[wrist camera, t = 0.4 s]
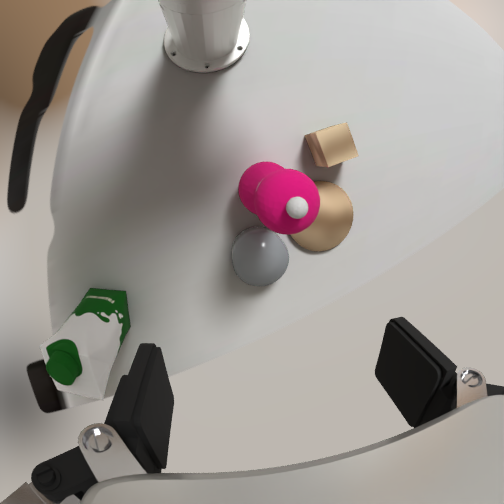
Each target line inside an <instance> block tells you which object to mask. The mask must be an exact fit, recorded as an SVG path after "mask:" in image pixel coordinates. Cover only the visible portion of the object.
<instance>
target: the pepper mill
mask: <svg viewBox="0 0 504 504" xmlns="http://www.w3.org/2000/svg"><path fill="white" fill-rule="evenodd" d="M239 196H240V199H241V201H242V203H243V205H244V206H245V207H246V208H247V209H248V210H249V211H251V212H252V213H254V214H256V215H258V217H259V219H260V221H261V222H262V223H263V224H264V225H265V226H266V227H267V228H269V229H270V230H272V231H274V232H276V233H280V234H289V235H290V234H296V233H299V232H301V231H303V230H305V229H307V228H308V227H309V226H310V225H311V224H312V223H313V222H314V220H315V219H316V217H317V215H318V212H319V209H320V196H319V192H318V189H317V187H316V185H315V184H314V182H313V181H312V180H311V179H310V178H309V177H308V176H307V175H305V174H304V173H302V172H299V171H297V170H293V169H284V168H283V167H281V166H280V165H278V164H276V163H272V162H260V163H256V164H254V165H252V166H251V167H249V168H248V169H247V170H246V171H245V172H244V174H243V175H242V177H241V179H240V182H239Z"/></svg>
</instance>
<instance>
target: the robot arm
mask: <svg viewBox="0 0 504 504" xmlns="http://www.w3.org/2000/svg"><path fill="white" fill-rule="evenodd" d="M158 1H159V4H160V6H161V9H162V12H163V14H164V17H165V20H166V22H167V25H168V27H167V30H166V32H165V35H164V47H165V50H166V53H167V55H168V56H169V58H170V59H171V60H172V61H173V62H174V63H175V64H176V65H178V66H179V67H181V68H183V69H185V70H188V71H192V72H200V73H204V72H213V71H218V70H221V69H224V68H226V67H228V66H230V65H232V64H233V63H235V62H236V61H237V60H238V59H239V58H240V57H241V56H242V55H243V54H244V52H245V50H246V49H247V46H248V43H249V38H250V35H249V28H248V25H247V23H246V22H245V20H244V19H243V15H244V10H245V5H246V1H247V0H158ZM239 49H240V50H241V51H238V50H239ZM174 54H176V55H175V56H173V55H174ZM207 66H208V67H209V68H205V67H207ZM456 368H457V366H456V365H455V364H454V363H453V362H452V361H451V360H450V359H449V358H448V357H447V356H446V355H444V354H443V353H442V352H441V351H440V350H439V349H438V348H437V347H436V346H435V345H434V344H433V343H431V342H430V341H429V340H428V339H427V338H426V337H425V336H424V335H423V334H421V332H420V331H418V330H417V329H416V328H415V327H414V326H413V325H412V324H411V323H409V322H408V321H407V320H406V319H405V318H403V317H399V318H394V319H391V320H390V321H389V323H387V325H386V328H385V333H384V337H383V342H382V345H381V349H380V354H379V357H378V361H377V365H376V369H375V375H376V378H377V379H378V381H379V382H380V383H381V385H382V386H383V388H384V389H385V391H386V392H387V393H388V395H389V396H390V398H391V399H392V400H393V402H394V403H395V405H396V406H397V408H398V409H399V411H400V412H401V414H402V415H403V417H404V418H405V419H406V421H407V422H408V424H409V425H410V426H411V427H414V429H411V430H409V431H407V432H404V433H402V434H399V435H397V436H394V437H392V438H389V439H386V440H383V441H381V442H378V443H375V444H372V445H369V446H366V447H362V448H359V449H356V450H353V451H349V452H346V453H342V454H338V455H334V456H331V457H326V458H323V459H318V460H313V461H309V462H304V463H298V464H293V465H287V466H281V467H274V468H267V469H258V470H248V471H237V472H221V473H161V469H165V468H166V465H167V455H168V445H169V437H170V429H171V421H172V413H173V406H174V396H173V392H172V389H171V386H170V382H169V378H168V374H167V371H166V367H165V363H164V359H163V355H162V351H161V348H160V347H156V345H155V344H154V343H141V344H140V345H139V348H138V350H137V353H136V356H135V358H134V361H133V363H132V366H131V369H130V371H129V374H128V375H123V376H122V378H121V380H120V382H119V385H118V387H117V390H116V393H115V395H114V398H113V401H112V404H111V406H110V409H109V412H108V415H107V417H106V420H105V423H104V424H102V423H97V424H92V425H89V426H87V427H86V428H84V429H83V430H82V431H81V433H80V435H79V437H78V444H79V446H77V447H76V448H73V449H71V450H69V451H67V452H65V453H63V454H60V455H58V456H56V457H54V458H52V459H49V460H47V461H45V462H42V463H40V464H39V465H37V466H36V467H35V468H34V470H33V472H32V477H31V479H32V482H31V483H30V484H28V483H27V482H25V483H24V484H23V485H22V486H21V487H20V488H18V489H17V490H16V491H15V492H13V493H12V494H11V495H10V496H8V497H7V498H6V499H5V500H4V501H3V502H1V503H0V504H504V387H503V386H497V385H491V384H486V380H485V377H484V375H483V374H482V373H481V372H480V371H478V370H476V369H474V368H463V369H461V370H460V371H459V372H458V374H457V373H456V372H455V370H456Z"/></svg>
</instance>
